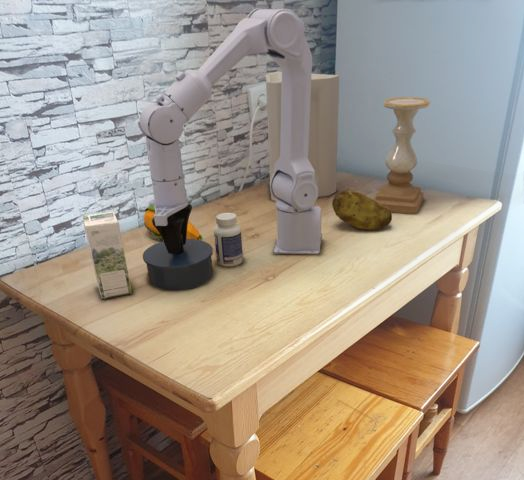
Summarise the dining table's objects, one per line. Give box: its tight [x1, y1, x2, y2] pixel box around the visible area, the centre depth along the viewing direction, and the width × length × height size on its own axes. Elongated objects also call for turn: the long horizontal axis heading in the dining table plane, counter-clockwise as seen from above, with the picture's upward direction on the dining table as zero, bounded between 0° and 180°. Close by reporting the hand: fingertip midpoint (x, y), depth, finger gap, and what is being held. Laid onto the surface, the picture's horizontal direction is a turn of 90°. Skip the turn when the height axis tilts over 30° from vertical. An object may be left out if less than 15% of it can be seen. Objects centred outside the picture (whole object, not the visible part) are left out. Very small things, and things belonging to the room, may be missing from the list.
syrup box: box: [82, 210, 133, 300], centre depth 103 cm, size 6×6×14 cm
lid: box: [142, 233, 214, 269], centre depth 107 cm, size 13×13×5 cm
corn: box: [143, 205, 203, 241], centre depth 124 cm, size 7×8×20 cm
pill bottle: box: [213, 212, 244, 268], centre depth 113 cm, size 5×5×10 cm
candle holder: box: [372, 96, 431, 215], centre depth 133 cm, size 11×11×24 cm
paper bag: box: [265, 71, 340, 202], centre depth 143 cm, size 19×15×28 cm
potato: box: [331, 189, 393, 231], centre depth 126 cm, size 8×13×8 cm, turn 58°
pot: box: [146, 256, 214, 291], centre depth 110 cm, size 12×12×5 cm
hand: (177, 248), depth 108 cm, fingers open, 4 cm apart
